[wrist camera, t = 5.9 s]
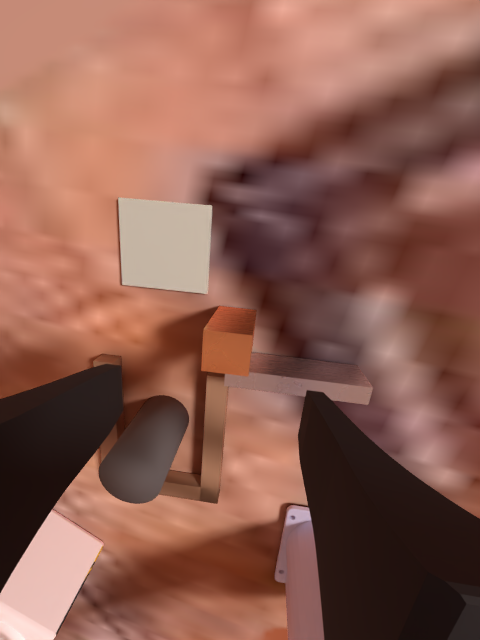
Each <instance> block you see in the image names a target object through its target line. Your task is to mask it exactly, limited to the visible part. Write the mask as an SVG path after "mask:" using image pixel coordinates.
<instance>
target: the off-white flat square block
mask: <svg viewBox="0 0 480 640" xmlns="http://www.w3.org/2000/svg"><path fill="white" fill-rule="evenodd" d="M118 204H119V227H120V249H121V272H122V285H129V286H138V287H147V288H157V289H166V290H175V291H184V292H194V293H203V294H207V293H208V279H209V260H210V241H211V222H212V206H211V205H199V204H188V203H176V202H165V201H153V200H142V199H130V198H119V197H118Z"/></svg>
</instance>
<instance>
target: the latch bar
mask: <svg viewBox="0 0 480 640" xmlns="http://www.w3.org/2000/svg"><path fill="white" fill-rule="evenodd" d="M256 311H257V310H252V309H243V308H234V307H224V306H219V307H218V309H217V310H216V312H215V313H214V315H213V316H212V318H211V319H210V321H209V322H208V323H207V325H206V326H205V328H204V329H203V345H202V365H201V371H207V372H215V373H223V374H225V380H224V386H228V387H236V388H243V389H251V390H259V391H266V392H274V393H282V394H289V395H297V396H306V391H307V390H311V391H318V392H324V393H325V394H326V395H327V396H328V397H329V398H330V399H331V400H335V401H343V402H351V403H358V404H366V405H368V404H369V400H370V397H371V393H372V389H373V387H372V386H371V384H370V383H369V381H368V380H367V378H366V377H365V376H364V374H363V373H362V371H361V370H360V368H359V367H358V365H352V364H343V363H335V362H327V361H319V360H310V359H302V358H294V357H286V356H277V355H269V354H261V353H253V352H252V346H253V338H254V329H255V320H256Z"/></svg>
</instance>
